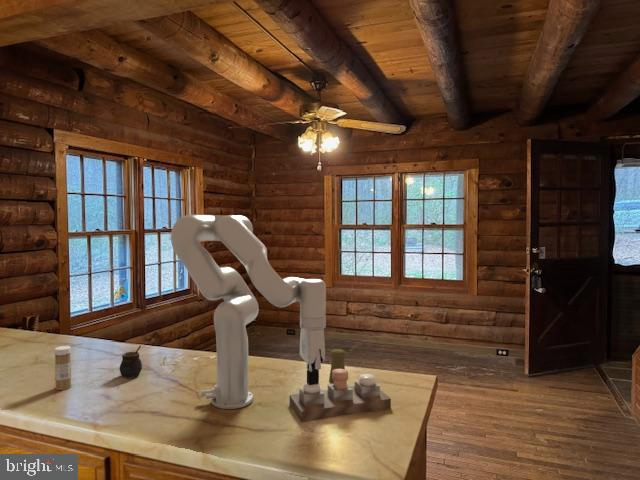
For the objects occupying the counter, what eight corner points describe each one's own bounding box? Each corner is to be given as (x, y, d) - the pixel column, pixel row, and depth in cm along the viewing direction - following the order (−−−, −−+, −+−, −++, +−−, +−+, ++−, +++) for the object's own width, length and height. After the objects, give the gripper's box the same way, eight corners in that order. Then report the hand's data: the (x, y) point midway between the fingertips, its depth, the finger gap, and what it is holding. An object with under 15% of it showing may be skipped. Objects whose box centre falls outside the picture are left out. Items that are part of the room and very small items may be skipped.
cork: (345, 385, 146) (345, 353, 145) (327, 383, 147) (327, 351, 146) (347, 378, 152) (347, 347, 151) (330, 377, 153) (331, 346, 152)
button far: (363, 396, 129) (363, 380, 129) (356, 390, 133) (356, 374, 133) (377, 394, 131) (377, 378, 130) (370, 388, 135) (370, 373, 135)
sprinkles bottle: (72, 384, 143) (71, 344, 143) (69, 389, 139) (69, 348, 138) (56, 386, 142) (56, 346, 141) (53, 391, 137) (52, 350, 137)
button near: (306, 404, 123) (306, 387, 123) (301, 397, 127) (301, 381, 127) (322, 402, 124) (322, 385, 124) (316, 395, 129) (316, 379, 129)
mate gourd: (114, 377, 150) (114, 349, 149) (131, 370, 157) (131, 343, 156) (130, 381, 147) (130, 352, 146) (146, 373, 154) (146, 346, 153)
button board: (301, 422, 119) (301, 401, 118) (289, 404, 130) (289, 385, 130) (390, 408, 128) (391, 388, 128) (372, 392, 139) (372, 374, 139)
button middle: (335, 391, 126) (335, 375, 125) (329, 385, 130) (329, 369, 130) (350, 389, 127) (350, 373, 127) (344, 383, 132) (344, 368, 132)
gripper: (293, 317, 130) (293, 376, 131) (308, 329, 116) (308, 395, 117) (316, 315, 133) (316, 373, 134) (334, 326, 119) (334, 391, 120)
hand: (312, 383), depth 126 cm, fingers closed
